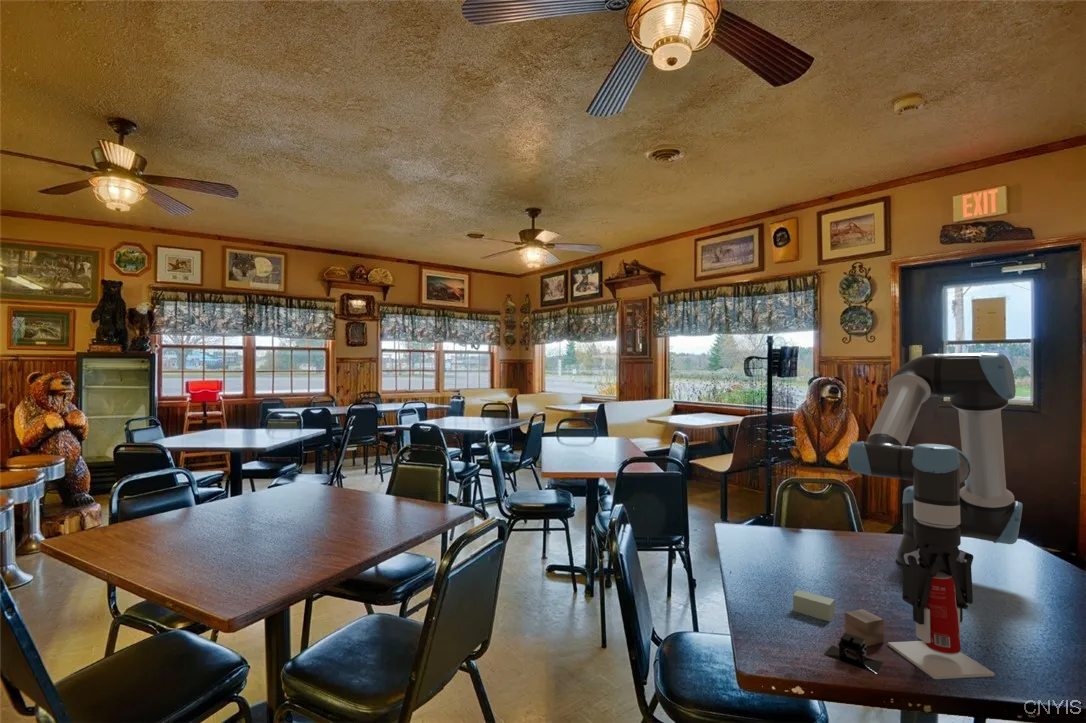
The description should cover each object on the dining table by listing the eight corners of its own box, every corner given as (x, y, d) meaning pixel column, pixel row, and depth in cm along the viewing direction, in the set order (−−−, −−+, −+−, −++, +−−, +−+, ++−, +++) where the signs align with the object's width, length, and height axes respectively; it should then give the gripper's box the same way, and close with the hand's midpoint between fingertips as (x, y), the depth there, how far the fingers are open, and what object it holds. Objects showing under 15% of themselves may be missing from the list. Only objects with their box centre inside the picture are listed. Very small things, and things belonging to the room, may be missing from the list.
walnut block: (862, 631, 116) (862, 608, 116) (883, 642, 111) (883, 619, 111) (845, 635, 114) (845, 612, 114) (866, 646, 109) (866, 623, 109)
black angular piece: (813, 656, 107) (813, 633, 107) (825, 642, 112) (825, 621, 112) (884, 681, 98) (884, 657, 98) (893, 666, 103) (893, 642, 103)
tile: (941, 642, 111) (941, 639, 111) (994, 676, 99) (994, 673, 99) (887, 645, 110) (887, 642, 110) (934, 679, 98) (934, 676, 98)
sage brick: (798, 606, 128) (798, 589, 128) (834, 616, 123) (834, 599, 123) (793, 611, 125) (793, 594, 126) (830, 622, 120) (829, 605, 120)
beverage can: (967, 658, 101) (966, 580, 101) (929, 654, 102) (928, 577, 102) (949, 642, 107) (949, 568, 107) (914, 638, 108) (913, 566, 108)
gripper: (963, 515, 109) (965, 627, 109) (879, 518, 108) (880, 631, 107) (997, 526, 101) (999, 646, 101) (906, 529, 100) (908, 651, 100)
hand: (938, 638), depth 104 cm, fingers closed on beverage can, 6 cm apart
